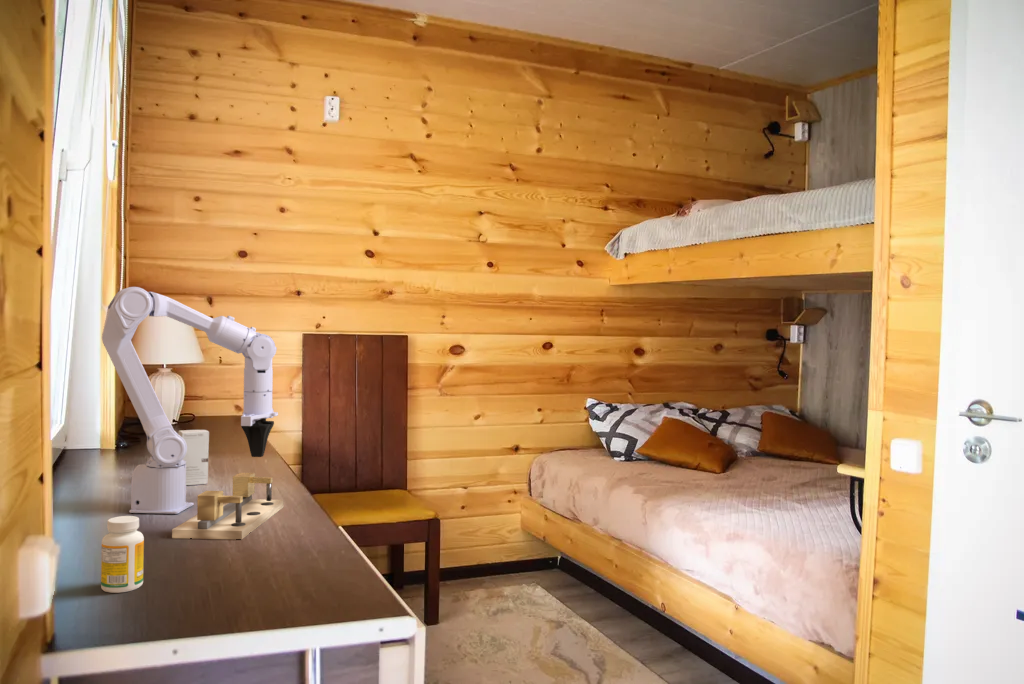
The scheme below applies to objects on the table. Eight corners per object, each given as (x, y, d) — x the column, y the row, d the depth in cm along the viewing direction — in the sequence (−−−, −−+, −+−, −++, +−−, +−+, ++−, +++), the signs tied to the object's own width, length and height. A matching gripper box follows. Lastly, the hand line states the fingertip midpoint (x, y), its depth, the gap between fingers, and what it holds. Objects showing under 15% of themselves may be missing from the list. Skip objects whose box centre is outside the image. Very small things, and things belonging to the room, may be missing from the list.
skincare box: (180, 486, 178) (181, 432, 178) (176, 483, 182) (176, 430, 182) (209, 484, 182) (209, 431, 182) (204, 480, 186) (205, 428, 185)
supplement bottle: (111, 596, 108) (111, 526, 108) (94, 587, 112) (94, 519, 111) (150, 586, 112) (151, 519, 112) (133, 578, 116) (133, 512, 115)
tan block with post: (232, 502, 156) (232, 476, 156) (239, 497, 160) (240, 472, 160) (268, 502, 156) (268, 477, 156) (274, 498, 160) (274, 473, 160)
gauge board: (172, 538, 137) (172, 497, 137) (224, 505, 161) (224, 471, 161) (241, 539, 137) (242, 499, 137) (283, 507, 161) (283, 472, 161)
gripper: (266, 394, 158) (265, 462, 158) (287, 388, 172) (286, 451, 173) (230, 394, 158) (230, 462, 158) (255, 387, 173) (254, 450, 173)
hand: (257, 456), depth 166 cm, fingers closed
